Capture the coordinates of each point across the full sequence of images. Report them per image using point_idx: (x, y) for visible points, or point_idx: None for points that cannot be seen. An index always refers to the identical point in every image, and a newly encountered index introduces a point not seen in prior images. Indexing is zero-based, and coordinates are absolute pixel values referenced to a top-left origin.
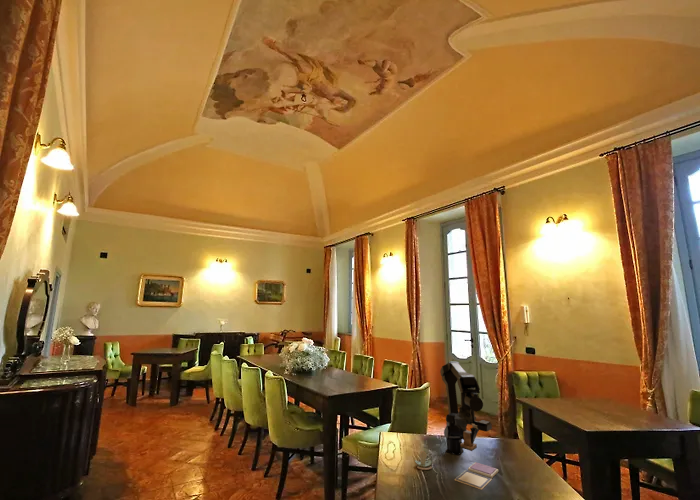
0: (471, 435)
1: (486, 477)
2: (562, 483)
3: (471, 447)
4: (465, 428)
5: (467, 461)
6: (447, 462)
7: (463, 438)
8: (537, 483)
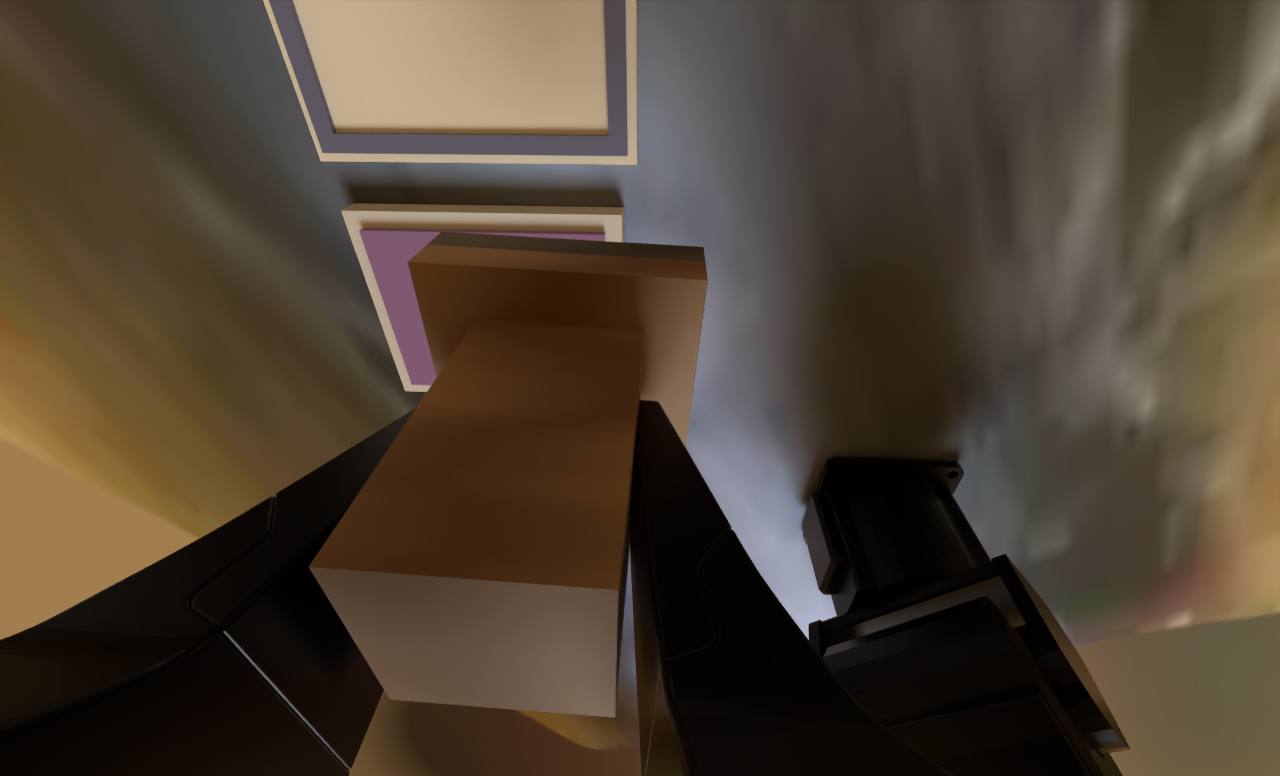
0: (323, 523)
1: (364, 141)
2: (68, 472)
3: (414, 260)
4: (646, 771)
5: (711, 399)
6: (898, 244)
7: (665, 439)
8: (112, 375)
